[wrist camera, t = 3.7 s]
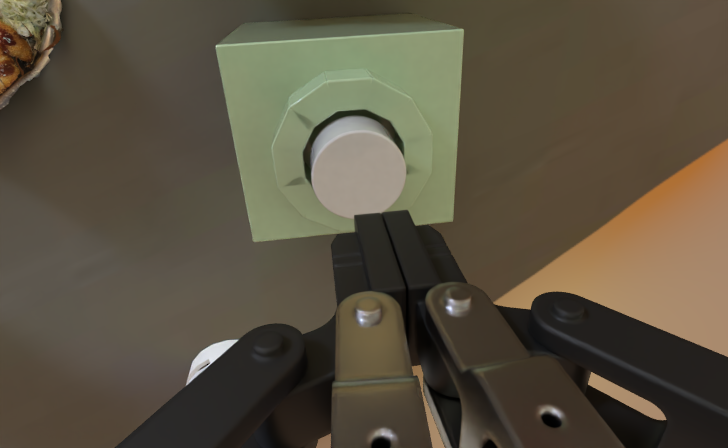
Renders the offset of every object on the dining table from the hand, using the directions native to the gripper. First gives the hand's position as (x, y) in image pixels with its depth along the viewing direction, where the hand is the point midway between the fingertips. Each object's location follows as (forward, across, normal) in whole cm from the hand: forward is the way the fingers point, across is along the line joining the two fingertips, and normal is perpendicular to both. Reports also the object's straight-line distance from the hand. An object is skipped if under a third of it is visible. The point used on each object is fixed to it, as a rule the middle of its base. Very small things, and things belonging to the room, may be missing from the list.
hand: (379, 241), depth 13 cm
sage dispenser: (+18, 0, 0) cm, 18 cm away
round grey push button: (+7, 0, 0) cm, 7 cm away
